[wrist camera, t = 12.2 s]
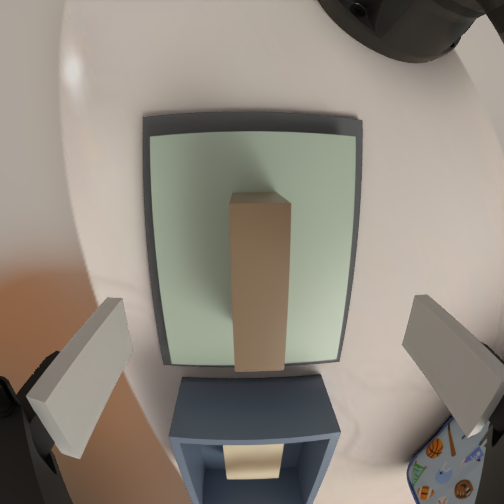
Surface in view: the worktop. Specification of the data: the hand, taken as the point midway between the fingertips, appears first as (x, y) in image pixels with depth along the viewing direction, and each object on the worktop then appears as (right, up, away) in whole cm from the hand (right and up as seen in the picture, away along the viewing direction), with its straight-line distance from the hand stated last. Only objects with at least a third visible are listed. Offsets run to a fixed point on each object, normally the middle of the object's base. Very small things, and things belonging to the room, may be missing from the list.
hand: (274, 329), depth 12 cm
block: (-1, -18, +17) cm, 25 cm away
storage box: (-1, -18, +18) cm, 25 cm away
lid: (-1, +3, +11) cm, 12 cm away
